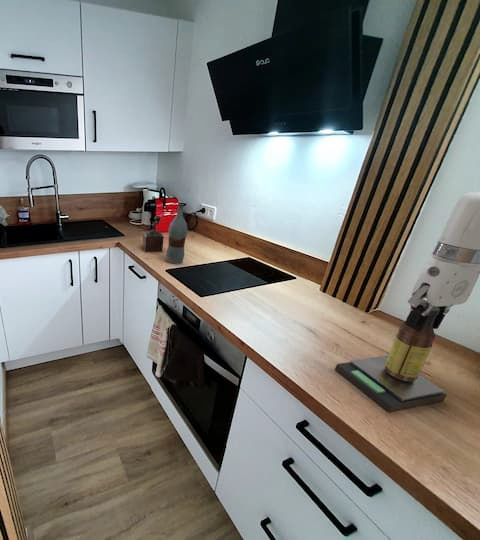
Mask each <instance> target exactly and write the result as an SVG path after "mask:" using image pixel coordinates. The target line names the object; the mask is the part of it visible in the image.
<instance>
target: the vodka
mask: <svg viewBox="0 0 480 540" xmlns="http://www.w3.org/2000/svg"><path fill="white" fill-rule="evenodd" d="M183 213H184V203H177V213H176V216H175V217H174V218H173V219H172V221H171V222H170V224H169V227H168V245H167V248H166V253H165V254H166V255H165V256H166V262H167V263H169V264H171V265H180V264H182V263H183V261H184V258H185V244H186V239H187V234H188V223H187V222H186V219H185V217H184V214H183Z"/></svg>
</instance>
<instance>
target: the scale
mask: <svg viewBox="0 0 480 540" xmlns="http://www.w3.org/2000/svg"><path fill="white" fill-rule="evenodd" d="M334 371H336V372H337V373H339V375H340V376H342V377H343V378H344V379H346V380H347V381H348V382H349V383H350V384H352V385H353V386H354V387H356V389H358V390H360V391H361V392H362V393H363V394H365V395H366V396H367V397H368V398H369V399H370V400H372V401H373V402H374V403H376V405H379V407H380V408H382V409H383V410H384V411H385V412H387V413H391V412H397V411H402V410H407V409H412V408H416V407H423V406H427V405H431V404H437V403H441V402H444V401H445V399H446V397H447V396H448V395H447V394H446V393H445V392H444V393H442V394H437V395H432V396H426V397H421V398H416V399H411V400H406V401H401V400H399V399H398V398H396V397H395V396H394V395H392V394H391V393H390V392H388V391H387V390H386V389H384V388H383V387H381V386H380V385H379V384H377V383H376V382H375V381H373V380H372V379H371V378H369V377H368V376H366V375H365V374H364V373H362V372H361V371H360V370H358V369H357V368H356V367H354V366H353V365H352V364H350V361H348V362H342V363H337V364H336V365H335V368H334Z"/></svg>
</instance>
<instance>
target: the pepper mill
mask: <svg viewBox="0 0 480 540" xmlns="http://www.w3.org/2000/svg"><path fill="white" fill-rule="evenodd" d="M154 220H155V221H152V223H151V226H152V229H151V230H148V231H143V232H142V249H143V250H144V252H145V253H163V252H164V250H163V249H164V238H165V237H164V235H163V234H162V231H160V230H156V229H155V228H156V227H155V226H156V225H160V224H161V222H160V221H161V220H162V217H161V216H160V215H155V216H154Z"/></svg>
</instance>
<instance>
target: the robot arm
mask: <svg viewBox="0 0 480 540" xmlns="http://www.w3.org/2000/svg"><path fill="white" fill-rule="evenodd" d="M430 256H431V257H430V259H429V261H428V262H427V263H426V265H425V267H424V268H423V269H422V270H421V273H420V274H419V276H418V278H417V280H416V281H415V283H414V285H413V288H412V289H411V294H410V295H411V297H410V298H409V299H407V303H408V304H409V305H410V308H409V310H410V311H409V313H408V315H407V317H406V319H405V321H404V323H405V325H407V326H409V327H411V328H413V329H415V330H417V331H422V329H423V327H424V326H425V324H426V322H427V320H428V318H429V316H427V315H428V313H429V312H430V311H431V309H432V308H433V306H434V307H438V308H439V309H440V311H439V314H438V315H437V316H436V318H435V320H434V322H433V330H438V329H439V327H440V326H441V324H442V322H443V321H444V318H445V317H446V315H447V314H449V312H450V310H451V307H454V306H457V305H463V304H465V303H466V302H467V301H468V300H469V297H470V295H472V293H473V290H474V288H475V286H476V284H477V281H478V280H479V278H480V191H469V192H466V193H462V194H461V196H459V198H458V199H457V201H456V203H455V204H454V206H453V209H452V211H451V213H450V215H449V218H447V221H446V223H445V225H444V228H443V230H442V231H441V233H440V236H439V238H438V239H437V242H436V244H435V246H434V248H433V250H432V252H431V254H430ZM421 302H422V303H424V304H426V305H427V306H426V307H425V308H424V306H423V305H421Z"/></svg>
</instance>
